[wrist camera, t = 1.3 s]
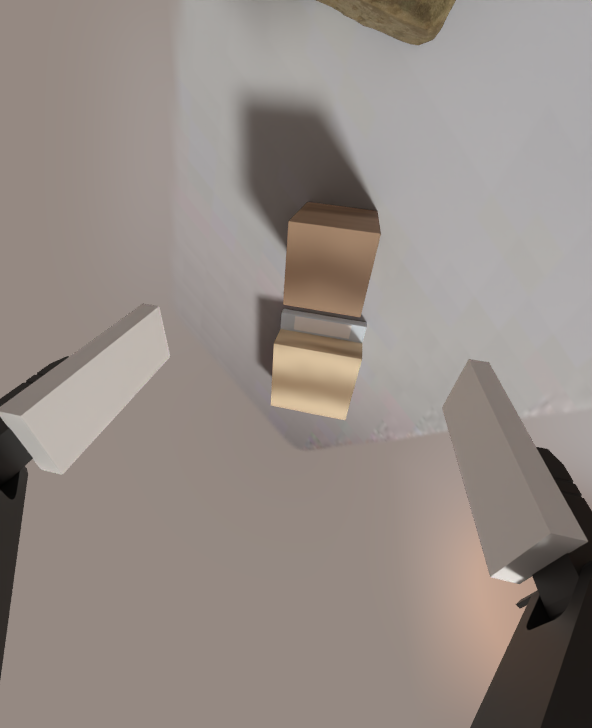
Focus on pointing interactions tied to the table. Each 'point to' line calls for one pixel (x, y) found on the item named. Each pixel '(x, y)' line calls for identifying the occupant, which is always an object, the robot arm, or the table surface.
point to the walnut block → (330, 257)
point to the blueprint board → (323, 325)
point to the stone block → (398, 16)
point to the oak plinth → (314, 373)
